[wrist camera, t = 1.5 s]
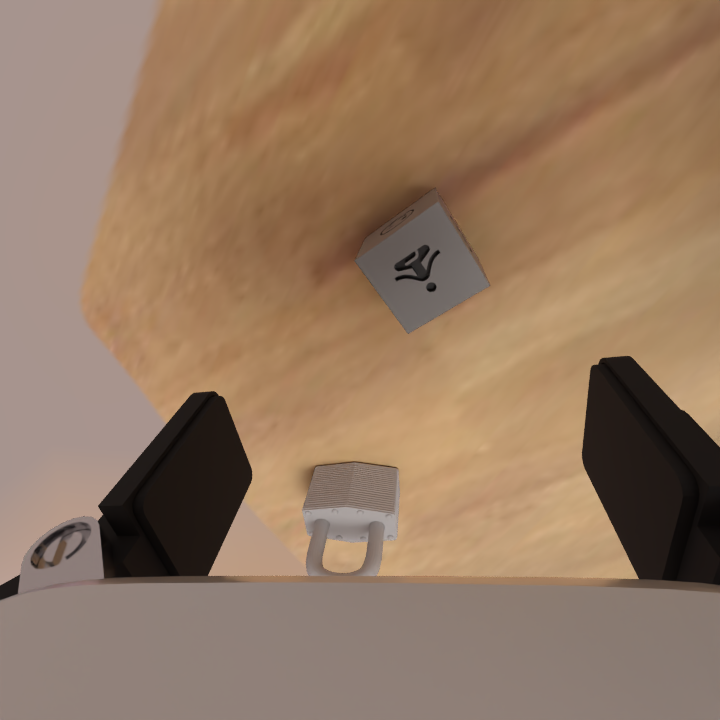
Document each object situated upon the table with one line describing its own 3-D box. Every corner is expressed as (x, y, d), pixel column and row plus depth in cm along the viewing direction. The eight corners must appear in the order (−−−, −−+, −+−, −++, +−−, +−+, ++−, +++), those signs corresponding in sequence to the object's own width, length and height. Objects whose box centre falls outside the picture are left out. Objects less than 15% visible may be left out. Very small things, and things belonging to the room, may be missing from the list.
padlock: (398, 461, 35) (390, 574, 26) (400, 496, 36) (393, 612, 28) (314, 459, 36) (280, 567, 27) (320, 493, 38) (290, 604, 29)
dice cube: (434, 187, 24) (438, 201, 20) (478, 258, 26) (490, 285, 21) (365, 237, 26) (354, 260, 22) (409, 300, 28) (407, 333, 23)
